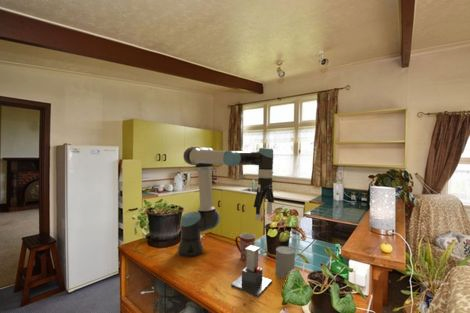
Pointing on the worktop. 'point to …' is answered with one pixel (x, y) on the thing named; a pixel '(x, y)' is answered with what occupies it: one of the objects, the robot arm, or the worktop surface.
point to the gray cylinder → (284, 260)
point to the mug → (245, 243)
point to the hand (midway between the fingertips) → (264, 217)
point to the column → (252, 258)
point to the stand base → (252, 282)
